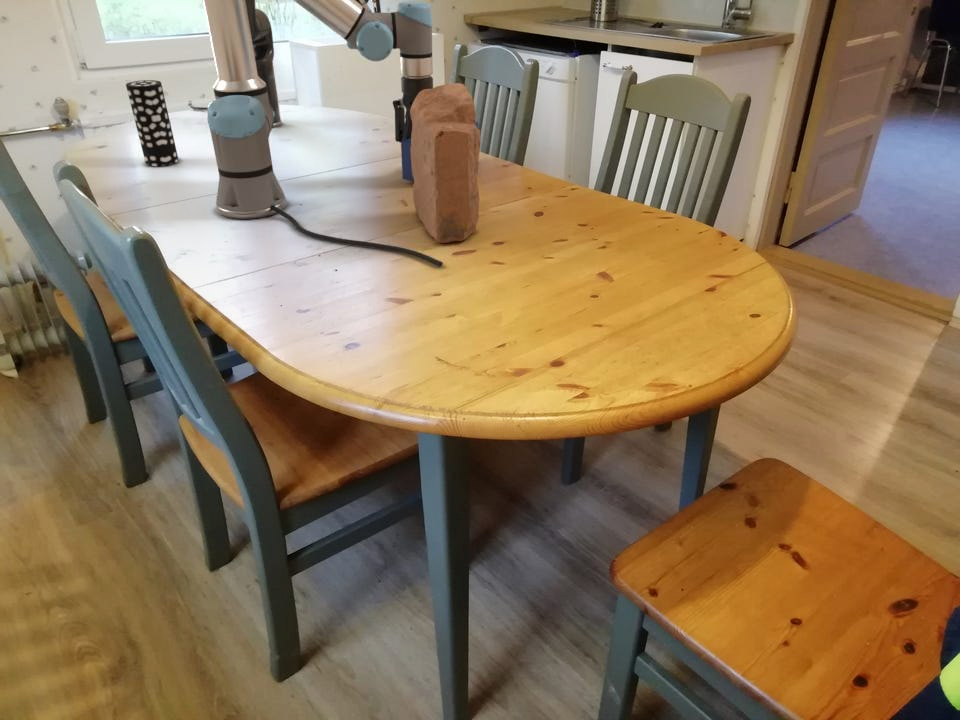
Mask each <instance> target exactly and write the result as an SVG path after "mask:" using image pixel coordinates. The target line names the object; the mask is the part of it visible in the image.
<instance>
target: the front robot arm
mask: <svg viewBox="0 0 960 720" xmlns="http://www.w3.org/2000/svg"><path fill="white" fill-rule="evenodd" d="M202 1H203V7H204V12H205V17H206V23H207V28H208V33H209V37H210V42H211V43H210V44H211V49H212V53H213V58H214V63H215V68H216V73H217V80H216V81H215V83H214V85H213V86H212V89H213V94H214V100H212V101H211V102H210V103H209V104H208V106H207V107H208V108H207V110H206V111H207V112H206V113H207V118H206V119H207V124H208V127H209V131H210V136H211V141H212V147H213V151H214V156H215V160H216V166H217V169H218V170H217V172H218V185H217V193H216V201H215V206H216V210H217V213H218V214H219V215H221V216H223V217H225V218H229V219H236V220H253V219H260V218H261V219H262V218H265V217H266V218H267V217H270V216H274V215H276V214H278V215H280V216H282V217H283V218H284V219H286V220H288V222H291V224H292V225H293V226H294V227H295V229H296V230H297V231H298V232H300V233H301V234H303V235H306V236H309V237H311V238H315V239H319V240H323V241H328V242H331V243H332V242H333V243H337V244H345V245H351V246H357V247H358V246H359V247H366V248H373V249H379V250H385V251H392V252H398V253H402V254H406V255H410V256H414V257H416V258H419V259H422V260H424V261H426V262H429V263H431V264H433V265H435V266H438V267H442V266H443V264H444V262H443V261H441V260H438V259H436V258H433V257H432V256H430V255H427V254H425V253H423V252H419V251H416V250H413V249H409V248H405V247H402V246H401V247H400V246H397V245H396V246H395V245H390V244H382V243H376V242H371V241H364V240H363V241H362V240H355V239H348V238H340V237H335V236H331V235H326V234H322V233H321V234H320V233H318V232H317V233H316V232H314V231H310V230H308V229H305V228H304V227H302V226H301V225H300V224H299V223H298V221H297V220H296V219H295V218H294V217H293V216H292V215H290V214H288V213H287V212H285V211H284V210H285V209H286V207H287V199H286V194H285V193H284V191H283V189H282V187H281V184H280V182H279V180H278V179H277V177H276V175H275V172H274V167H273V160H272V154H271V147H270V140H269V139H270V134H271V132H272V130H273V128H274V127H273V122H274V114H273V109H272V108H271V105H270V103H269V99H268V93H267V87H266V83H265V82H264V81H263V80H262V79H260V78H259V76H258V74H257V68H256V62H255V56H254V50H253V44H252V38H251V32H250V26H249V20H248V14H247V8H246V3H245V0H202ZM293 1H294V2H295V3H296V4H297V5H299V6H300V7H301V8H303V9H304V10H306V11H307V13H308V14H311V15H312V16H313V17H315V18H316V19H318V21H320V22H321V23H323V24H324V25H325V26H326V27H328V28H329V29H330V30H331V31H333V32H334V33H336V34H337V35H338V36H339V37H341V38H342V39H344V40H345V41H346V46H347V47H348V49H350V50H357V51H358V52H359V54H360V55H361V56H362V57H363V58H365V59H366V60H368V61H371V62H381V61H384V60H386V59H387V58H388V57H389V56H390V55H391V53H392V51H393V50H397V49H399V63H400V64H399V66H400V74H401V75H402V76H401V77H400V80H401V81H400V86H401V93H402V94H403V95H402V97H401V98H397V99H395V100H393V101H392V106H393V110H394V139H395V141H396V142H397V143H400V144H401V141H404V140H406V139H409V138H411V133H412V120H411V116H410V109H411V106H412V104H413V102H414V100H415V98H416V96H417V95H418V93H419V92H420V91H422V90H424V89H432V88H434V77H433V76H432V75H433V74H434V72H433V71H434V69H433V68H434V66H433V24H432V23H433V22H432V9H431V6H430V5H429V4H428V3H427V2H424V1H414V0H413V1H401V2H398V4H397V9H396V11H393V12H381V13H374V12H372V13H371V12H369V11H368V10H367V9H365V8H364V7H363V6H362V5H361V4H359V3H358V2H357V1H356V0H293Z"/></svg>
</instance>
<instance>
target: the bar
mask: <svg viewBox="0 0 960 720" xmlns="http://www.w3.org/2000/svg"><path fill="white" fill-rule="evenodd" d="M475 124H476V127H477V129H478V130H479V120H475ZM400 151H401V152H400V155H401V173H402V175H401V177H402V179H403V180H406V181H411V182H414V178H413V175H412V163H411V138H409V139H406V140H404V141H401V143H400Z"/></svg>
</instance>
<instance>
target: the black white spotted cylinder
mask: <svg viewBox="0 0 960 720" xmlns="http://www.w3.org/2000/svg"><path fill="white" fill-rule="evenodd" d="M125 87H126V91H127V95H128V99H129V103H130V107H131V110H132V115H133V118H134V122H135V123H134V124H135V127H136V130H137V134H138V139H139V143H140V146H141V150H142V155H143V158H144V163H145V164H146V165H147V166H151V167H164V166H170V165H174V164H176V163H178V162H179V155H178V150H177V146H176V142H175V137H174V133H173V128H172V125H171V121H170V116H169V111H168V107H167V103H166V98H165V93H164V89H163V84H162V81H161V80H155V79H154V80H153V79H151V80H150V79H145V80H144V79H141V80H134V81H130V82H129V81H128V82H127V83H126V84H125Z"/></svg>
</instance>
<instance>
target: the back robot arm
mask: <svg viewBox="0 0 960 720" xmlns="http://www.w3.org/2000/svg"><path fill="white" fill-rule="evenodd" d="M356 1H357V2H358V3H359V4H361V5H362V6H363V7H364V8H365V9H367V10H368V11H369V12H371V13H382V10H381V0H356ZM369 1H370V2H371V3H372V7H373V12H372V9H371V8H370V6H369V5H368V3H369ZM245 3H246V8H247V14H248V20H249V26H250V32H251V38H252V44H253V50H254V56H255V62H256V68H257V74H258V76H259V78H260V79H262V80H263V81H264V82H265V83H266V87H267V93H268V99H269V103H270V105H271V108H272V109H273V114H274V122H273V127H272V128H276V127H280V126H281V125H282V119H281V118H282V117H281V111H280V105H279V97H278V89H277V82H276V76H275V68H274V58H275V48H274V38H273V36H274V35H273V29H272V25H271V21H270V18H269V17H268V15H267V14H266V13H265V12H264V11H263V10H262V9H260V8H256V0H245ZM187 103H188V104H187V105H188V106H189V107H190V108H191V109H192V110H196V111H207V108H208V106H207V107H201V106H194V105H192V101H191V100H189V101H188V102H187Z"/></svg>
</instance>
